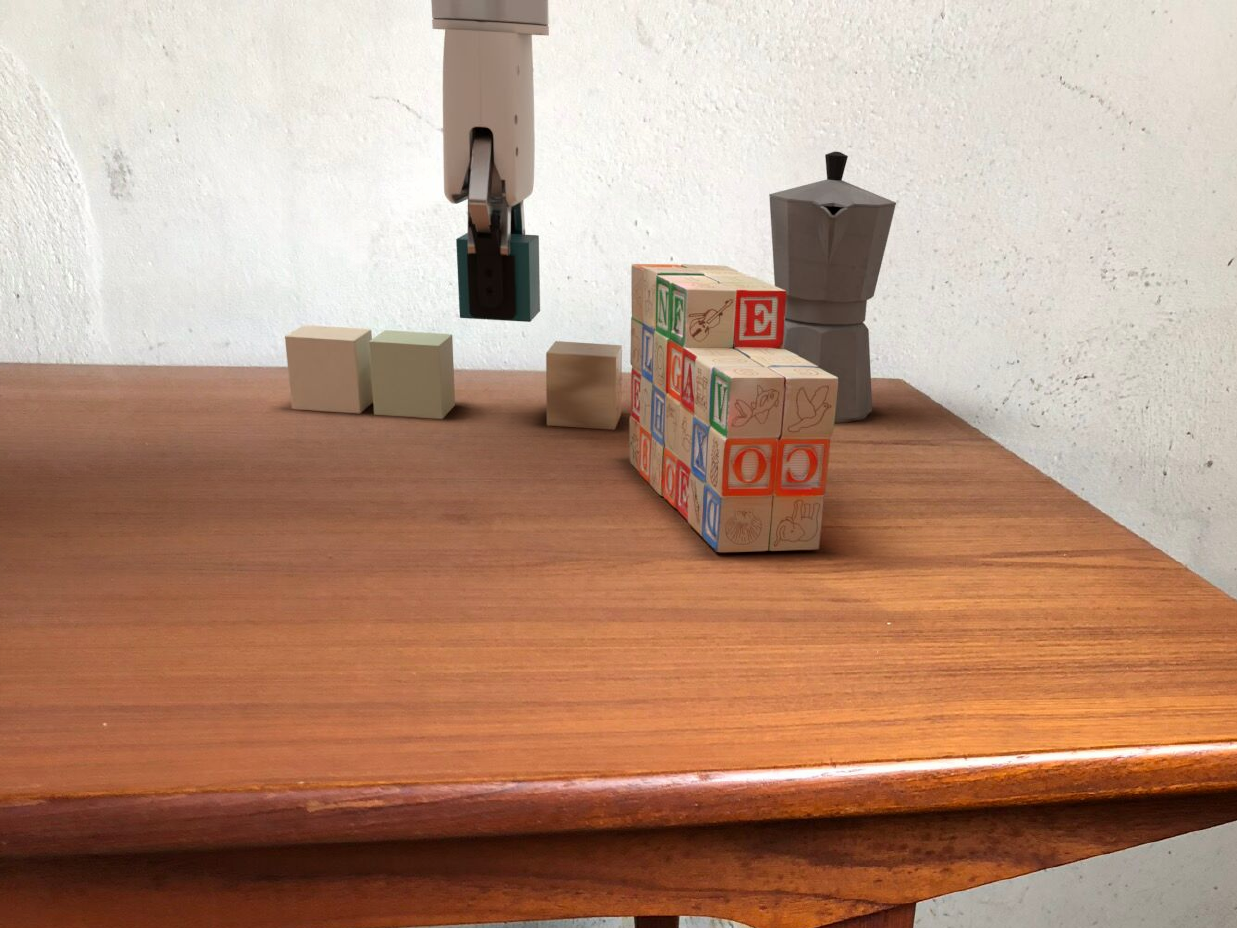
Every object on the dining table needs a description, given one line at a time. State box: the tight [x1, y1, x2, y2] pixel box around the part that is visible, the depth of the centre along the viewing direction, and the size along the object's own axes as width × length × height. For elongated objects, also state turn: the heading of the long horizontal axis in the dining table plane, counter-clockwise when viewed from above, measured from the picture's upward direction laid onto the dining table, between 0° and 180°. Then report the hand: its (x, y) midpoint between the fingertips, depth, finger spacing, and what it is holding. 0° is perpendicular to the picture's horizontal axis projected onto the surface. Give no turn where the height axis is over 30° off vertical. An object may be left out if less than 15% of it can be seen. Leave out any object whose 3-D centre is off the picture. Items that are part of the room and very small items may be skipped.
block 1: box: [284, 324, 373, 415], centre depth 102 cm, size 5×5×5 cm
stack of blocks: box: [629, 263, 838, 553], centre depth 82 cm, size 21×6×12 cm, turn 16°
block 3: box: [545, 340, 623, 431], centre depth 102 cm, size 5×5×5 cm
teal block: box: [455, 232, 541, 323], centre depth 98 cm, size 5×5×5 cm
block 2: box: [369, 329, 456, 420], centre depth 102 cm, size 5×5×5 cm
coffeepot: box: [768, 151, 897, 424], centre depth 107 cm, size 15×9×18 cm, turn 177°
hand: (499, 308), depth 100 cm, fingers closed on teal block, 5 cm apart
